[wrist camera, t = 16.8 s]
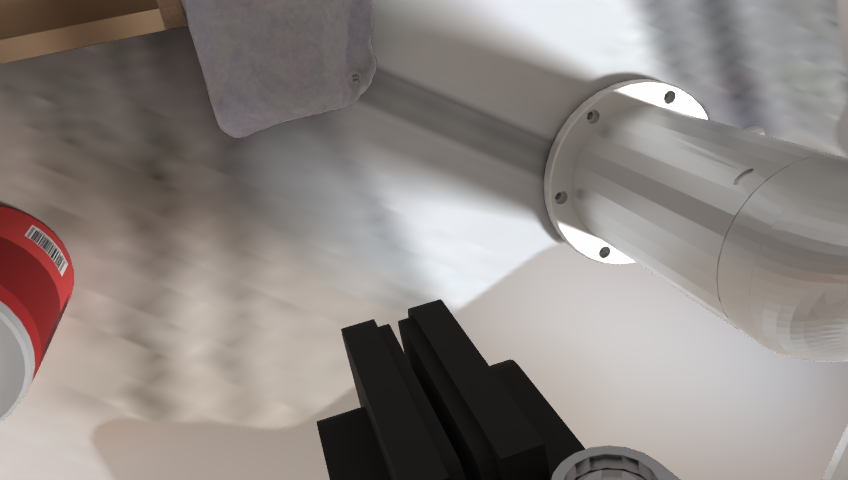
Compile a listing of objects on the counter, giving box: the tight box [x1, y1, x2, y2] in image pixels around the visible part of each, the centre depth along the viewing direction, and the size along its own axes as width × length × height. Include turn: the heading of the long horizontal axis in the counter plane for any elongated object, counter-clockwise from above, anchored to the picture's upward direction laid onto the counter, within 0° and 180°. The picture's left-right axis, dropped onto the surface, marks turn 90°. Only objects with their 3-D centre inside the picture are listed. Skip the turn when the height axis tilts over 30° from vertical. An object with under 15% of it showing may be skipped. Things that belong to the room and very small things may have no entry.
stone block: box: [180, 0, 377, 138], centre depth 37 cm, size 12×5×10 cm
